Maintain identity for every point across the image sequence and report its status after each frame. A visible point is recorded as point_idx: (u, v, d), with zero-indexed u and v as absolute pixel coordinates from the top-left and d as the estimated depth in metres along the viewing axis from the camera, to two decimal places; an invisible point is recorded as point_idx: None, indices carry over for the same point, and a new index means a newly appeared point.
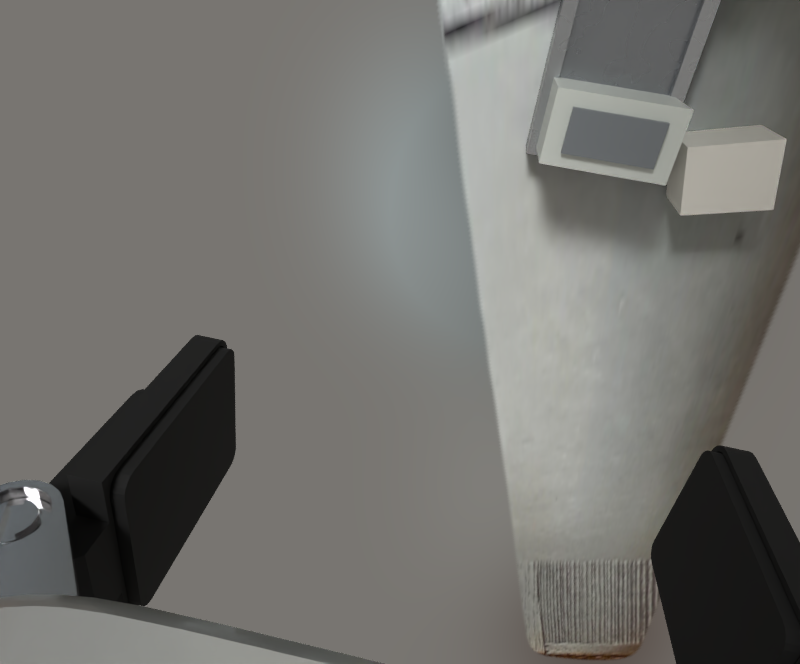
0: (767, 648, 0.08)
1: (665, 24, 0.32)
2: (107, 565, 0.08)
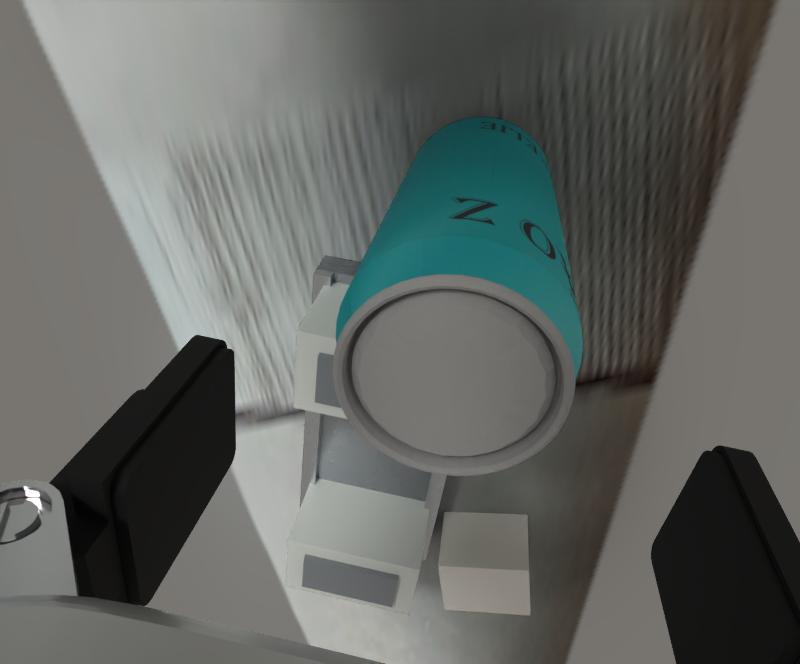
0: (767, 648, 0.08)
1: None
2: (107, 565, 0.08)
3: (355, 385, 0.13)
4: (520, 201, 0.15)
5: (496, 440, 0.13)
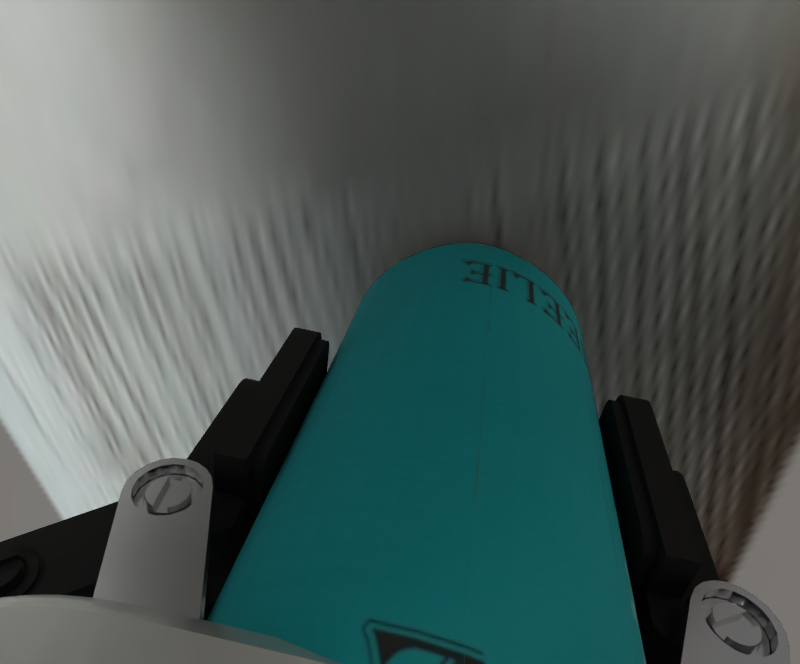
0: (632, 560, 0.09)
1: None
2: (242, 538, 0.09)
3: None
4: (542, 588, 0.06)
5: None
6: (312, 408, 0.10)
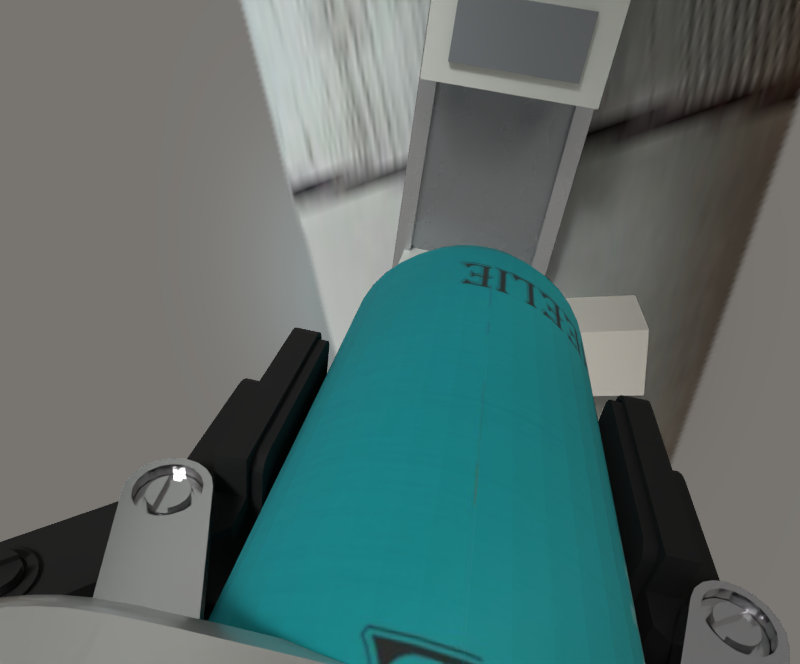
0: (632, 561, 0.09)
1: (518, 202, 0.29)
2: (242, 538, 0.09)
3: None
4: (541, 594, 0.06)
5: None
6: (311, 411, 0.10)
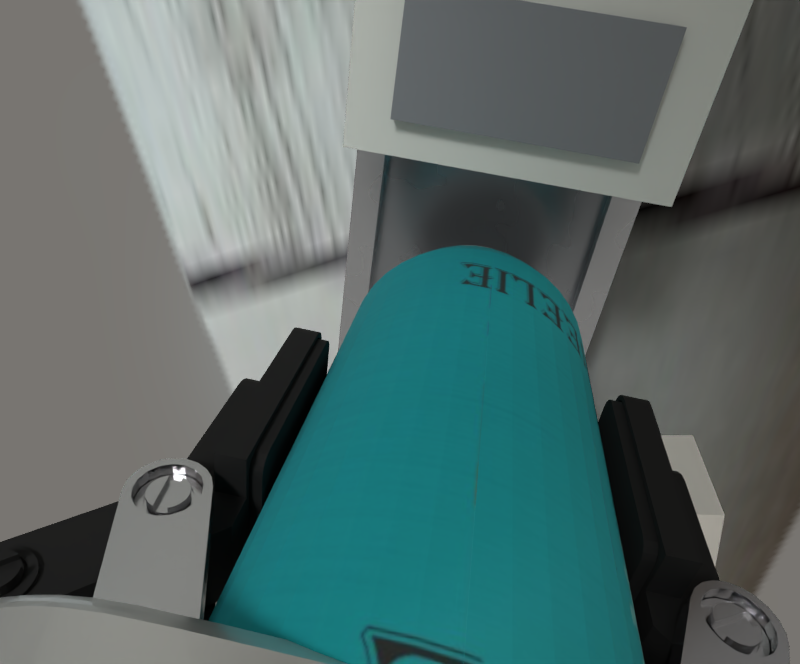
0: (631, 560, 0.09)
1: None
2: (242, 538, 0.09)
3: None
4: (541, 595, 0.06)
5: None
6: (311, 411, 0.10)
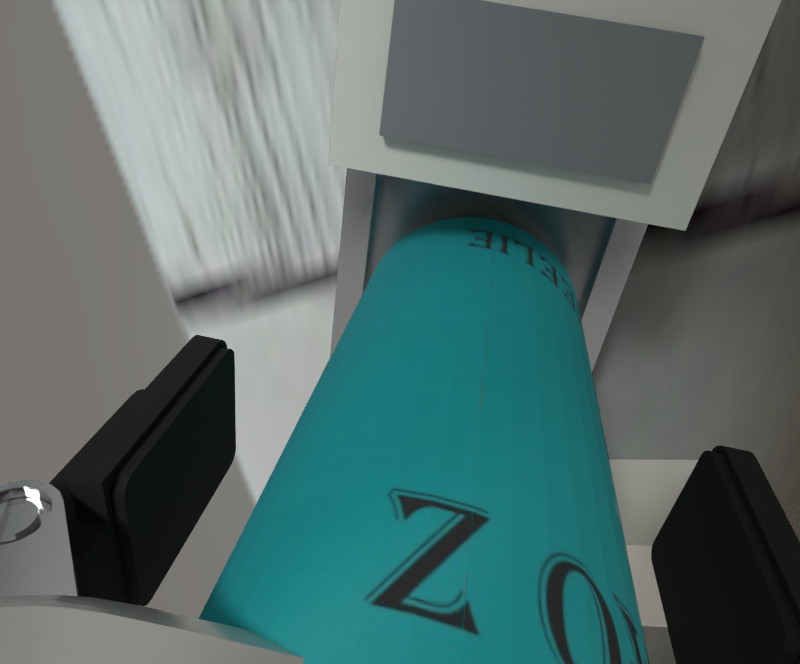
0: (767, 648, 0.08)
1: None
2: (107, 565, 0.08)
3: None
4: (537, 474, 0.07)
5: None
6: (334, 354, 0.11)
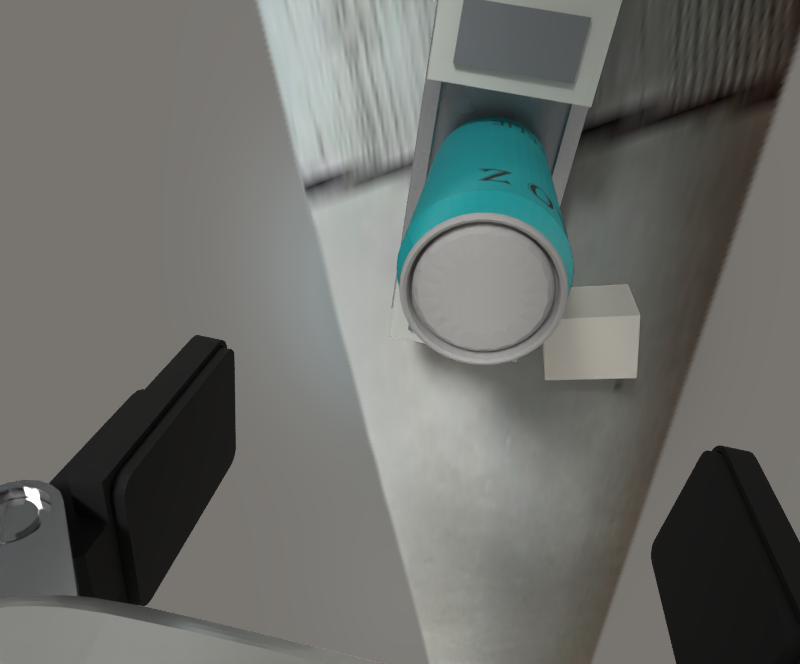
0: (767, 648, 0.08)
1: None
2: (107, 565, 0.08)
3: (414, 297, 0.19)
4: (527, 172, 0.21)
5: (513, 335, 0.19)
6: (433, 167, 0.25)
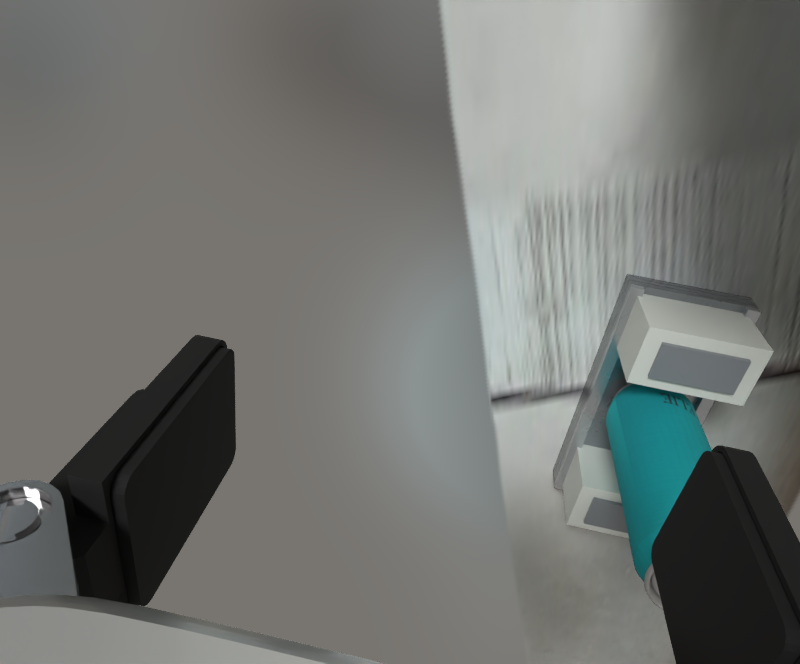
0: (767, 648, 0.08)
1: None
2: (107, 565, 0.08)
3: (653, 580, 0.30)
4: None
5: None
6: (630, 444, 0.36)
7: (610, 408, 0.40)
